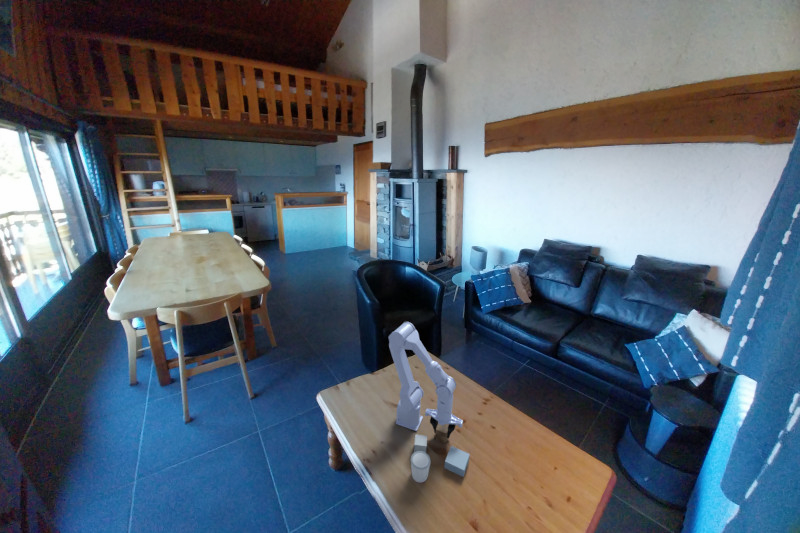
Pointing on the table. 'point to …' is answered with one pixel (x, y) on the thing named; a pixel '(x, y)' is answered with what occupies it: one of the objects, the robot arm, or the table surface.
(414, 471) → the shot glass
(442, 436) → the walnut cube
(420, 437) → the grey cube
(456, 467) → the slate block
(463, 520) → the table surface
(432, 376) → the robot arm
